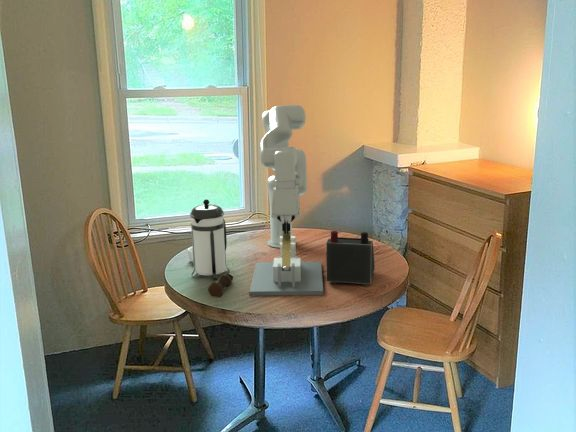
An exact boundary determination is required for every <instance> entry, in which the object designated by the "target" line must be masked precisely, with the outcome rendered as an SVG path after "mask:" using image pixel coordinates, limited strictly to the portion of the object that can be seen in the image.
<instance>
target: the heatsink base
mask: <svg viewBox="0 0 576 432" xmlns="http://www.w3.org/2000/svg"><path fill="white" fill-rule="evenodd" d="M290 267H291V271H282V258H280V257H274V258H273V261H259V262H258V261H256V263H255V266H254V271H253V274H252V279H251V284H250V287H249V293H248V294H249V297H250V296H254V297H255V296H257V297H258V296H323V295H324V283H323V271H322V261H301V257H296V258H291V262H290Z"/></svg>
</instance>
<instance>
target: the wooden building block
mask: <svg viewBox="0 0 576 432" xmlns="http://www.w3.org/2000/svg"><path fill="white" fill-rule="evenodd" d="M290 262H291V232H289V234H287V232H286V234H284V232H283V240H282V271H291V267H290Z"/></svg>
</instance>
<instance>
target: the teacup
mask: <svg viewBox="0 0 576 432" xmlns="http://www.w3.org/2000/svg"><path fill="white" fill-rule="evenodd" d="M187 256H188V259H189V261H191V262H192V263H194V261H193V246H191V247H188V248H187Z"/></svg>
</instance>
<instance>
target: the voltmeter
mask: <svg viewBox="0 0 576 432" xmlns="http://www.w3.org/2000/svg"><path fill="white" fill-rule="evenodd" d="M338 234H339V232H338V231H337V230H332V231H331V232H330V238H328V239H327V241H326V242H325V243H326V255H325V257H326V261H325V262H326V264H325V265H326V282H330V284H331V285H336V284H337V283H349V284H350V283H351V284H361V285H362V286H363V287H368V286H369V285H371V284H372V280H373V276H374V274H375V273H374V272H375V265H376V263H375V261H376V260H375V253H374V243H373V240H370V239H369V233H368V232H367V231H366V232H365V231H364V232H363V231H362V232H361V233H360V238H359V237H339V235H338ZM367 285H368V286H367Z"/></svg>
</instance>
